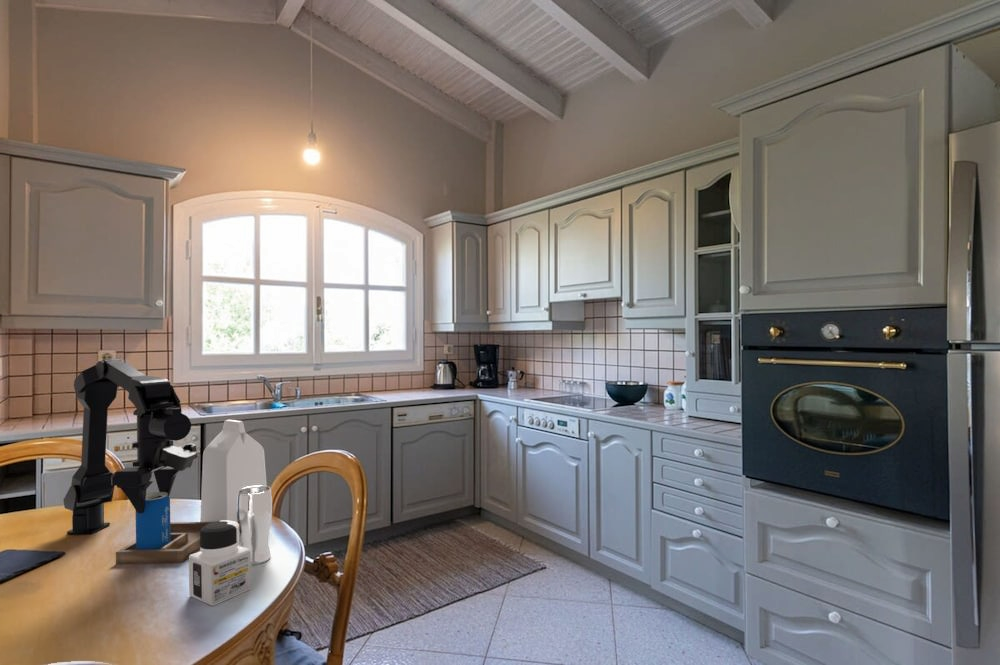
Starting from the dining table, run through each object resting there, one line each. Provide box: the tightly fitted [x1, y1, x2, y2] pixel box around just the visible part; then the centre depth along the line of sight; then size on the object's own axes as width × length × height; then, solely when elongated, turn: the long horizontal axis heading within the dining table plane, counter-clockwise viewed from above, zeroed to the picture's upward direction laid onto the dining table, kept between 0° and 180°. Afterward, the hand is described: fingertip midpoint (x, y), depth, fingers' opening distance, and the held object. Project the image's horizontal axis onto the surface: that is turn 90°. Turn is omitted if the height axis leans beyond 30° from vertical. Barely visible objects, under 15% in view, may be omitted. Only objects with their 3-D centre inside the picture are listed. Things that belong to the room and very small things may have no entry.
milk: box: [199, 419, 268, 523], centre depth 142 cm, size 12×12×26 cm
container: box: [188, 520, 252, 607], centre depth 103 cm, size 8×8×13 cm
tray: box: [115, 521, 212, 565], centre depth 125 cm, size 18×14×3 cm
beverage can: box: [135, 491, 171, 550], centre depth 121 cm, size 6×6×12 cm
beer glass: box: [237, 485, 273, 566], centre depth 118 cm, size 7×7×15 cm
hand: (153, 506), depth 121 cm, fingers open, 8 cm apart
